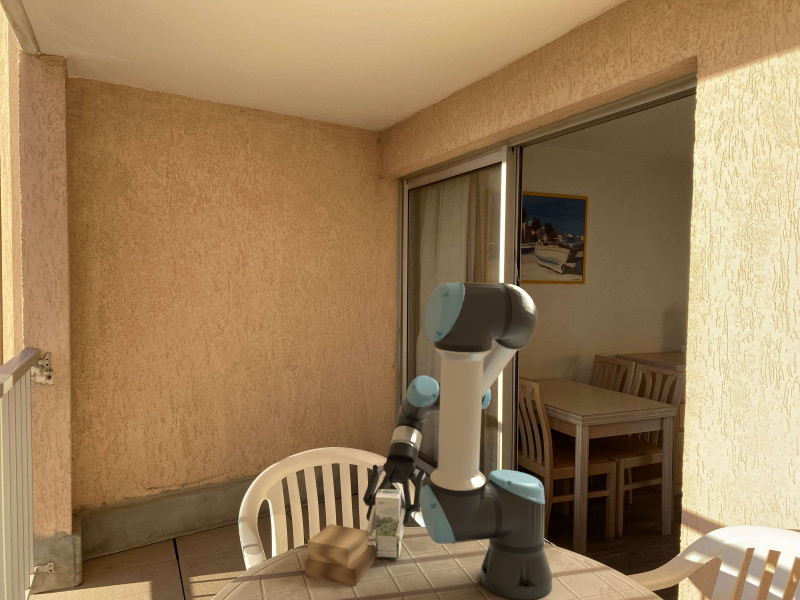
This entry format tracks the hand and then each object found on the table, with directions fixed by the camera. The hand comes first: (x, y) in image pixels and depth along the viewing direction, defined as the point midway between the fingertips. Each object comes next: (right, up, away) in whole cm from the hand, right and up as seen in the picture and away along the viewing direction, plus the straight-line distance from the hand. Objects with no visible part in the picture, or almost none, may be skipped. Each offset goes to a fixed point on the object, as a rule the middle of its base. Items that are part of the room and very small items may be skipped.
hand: (383, 536), depth 131 cm
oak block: (-10, -3, -3) cm, 11 cm away
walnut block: (-10, -7, -3) cm, 12 cm away
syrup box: (+1, -6, +3) cm, 7 cm away
